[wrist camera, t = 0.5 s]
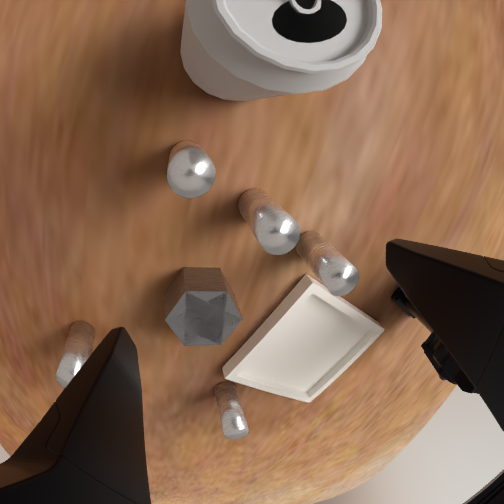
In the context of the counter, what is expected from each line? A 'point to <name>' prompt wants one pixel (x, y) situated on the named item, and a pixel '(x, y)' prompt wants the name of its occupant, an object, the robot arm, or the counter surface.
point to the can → (276, 44)
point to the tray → (303, 343)
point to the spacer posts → (270, 238)
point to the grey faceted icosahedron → (201, 307)
